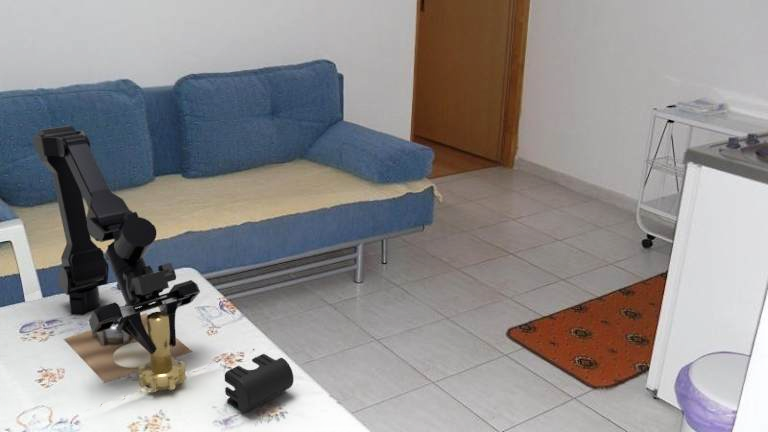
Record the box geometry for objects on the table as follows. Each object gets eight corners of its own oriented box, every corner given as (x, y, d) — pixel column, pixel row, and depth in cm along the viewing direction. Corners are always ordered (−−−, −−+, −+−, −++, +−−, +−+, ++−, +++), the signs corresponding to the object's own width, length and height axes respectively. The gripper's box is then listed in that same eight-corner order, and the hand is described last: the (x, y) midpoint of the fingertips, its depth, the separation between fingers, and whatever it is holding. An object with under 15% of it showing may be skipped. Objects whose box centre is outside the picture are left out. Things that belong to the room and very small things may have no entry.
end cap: (249, 421, 128) (248, 386, 125) (223, 404, 132) (222, 370, 130) (294, 396, 135) (294, 363, 133) (268, 381, 139) (267, 348, 137)
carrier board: (64, 345, 148) (63, 337, 148) (146, 319, 159) (146, 311, 158) (105, 390, 135) (104, 381, 134) (192, 358, 146) (192, 350, 145)
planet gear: (149, 364, 140) (144, 303, 136) (193, 368, 140) (189, 307, 135) (130, 389, 133) (124, 325, 128) (176, 393, 132) (171, 330, 128)
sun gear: (87, 332, 150) (85, 313, 149) (127, 320, 155) (125, 302, 154) (105, 351, 144) (103, 331, 143) (146, 337, 149) (144, 318, 148)
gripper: (88, 265, 125) (123, 352, 121) (192, 238, 136) (226, 317, 133) (75, 291, 133) (107, 373, 129) (174, 264, 145) (206, 338, 141)
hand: (163, 349), depth 133 cm, fingers closed on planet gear, 4 cm apart
